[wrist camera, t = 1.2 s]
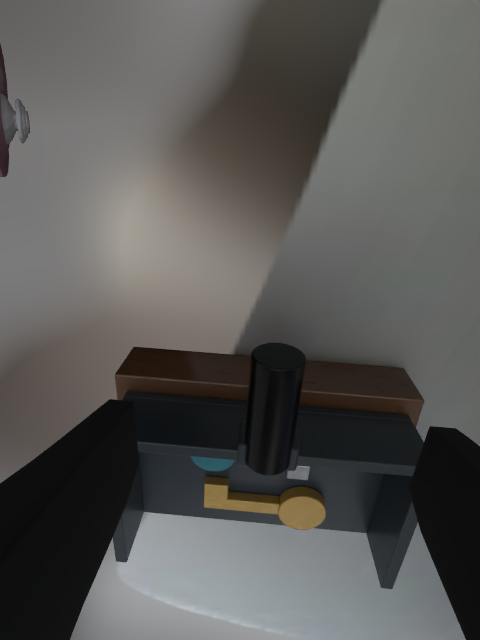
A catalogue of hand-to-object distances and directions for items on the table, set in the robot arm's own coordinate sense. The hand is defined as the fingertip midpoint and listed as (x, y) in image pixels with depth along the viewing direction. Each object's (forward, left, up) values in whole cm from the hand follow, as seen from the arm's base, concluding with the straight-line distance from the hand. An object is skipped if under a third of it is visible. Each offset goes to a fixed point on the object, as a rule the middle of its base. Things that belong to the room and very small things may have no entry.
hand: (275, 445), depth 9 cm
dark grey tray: (-4, 0, -6) cm, 7 cm away
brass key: (-8, 0, -5) cm, 10 cm away
